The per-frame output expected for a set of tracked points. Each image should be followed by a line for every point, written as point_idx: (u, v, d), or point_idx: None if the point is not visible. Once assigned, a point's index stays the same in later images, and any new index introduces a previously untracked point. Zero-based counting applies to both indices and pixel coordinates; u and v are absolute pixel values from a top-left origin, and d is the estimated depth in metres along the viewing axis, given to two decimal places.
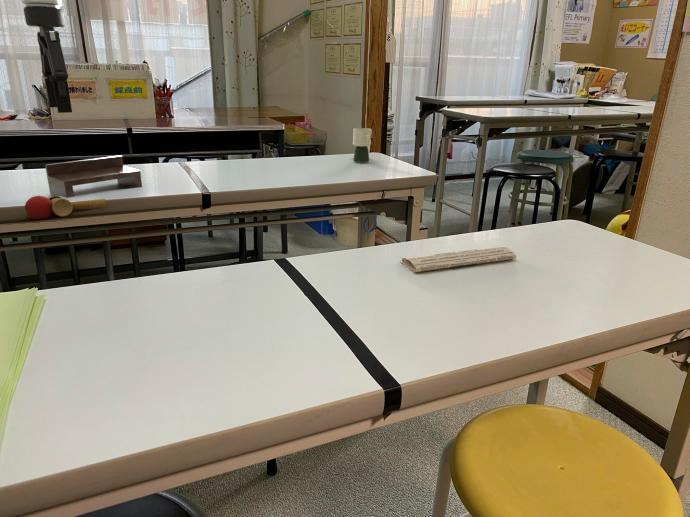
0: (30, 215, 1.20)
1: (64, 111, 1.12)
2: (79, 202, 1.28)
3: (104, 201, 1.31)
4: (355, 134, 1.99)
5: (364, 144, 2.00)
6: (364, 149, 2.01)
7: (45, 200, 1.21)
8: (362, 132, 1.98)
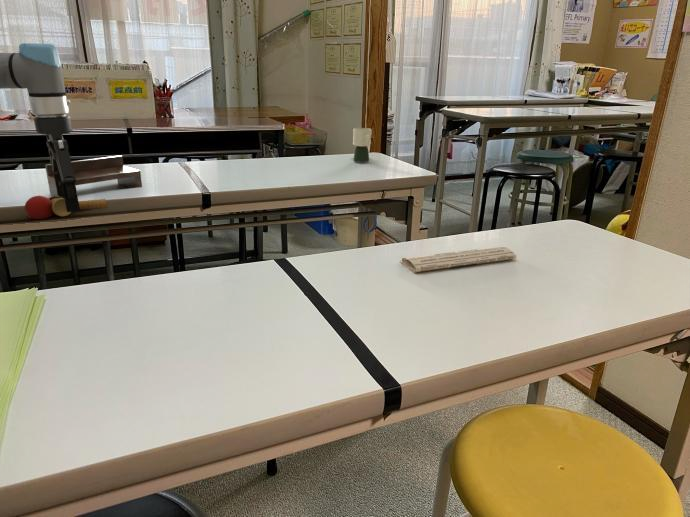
0: (30, 214, 1.20)
1: (73, 210, 1.21)
2: (79, 202, 1.28)
3: (104, 201, 1.31)
4: (355, 134, 1.99)
5: (364, 144, 2.00)
6: (364, 149, 2.01)
7: (45, 200, 1.21)
8: (362, 132, 1.98)
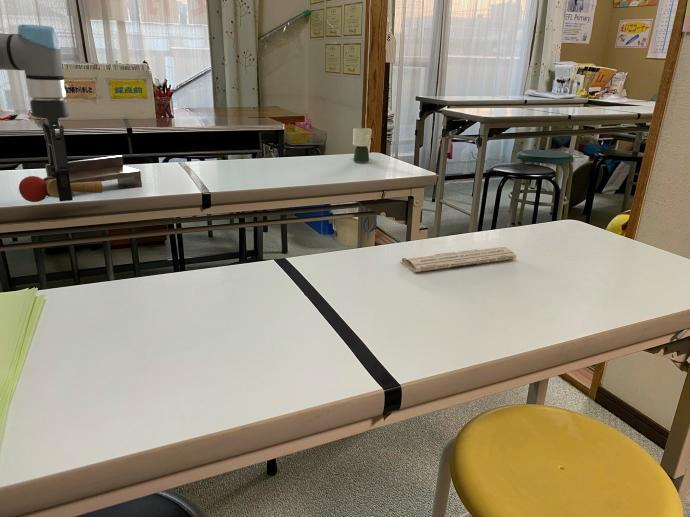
0: (24, 195, 1.18)
1: (65, 200, 1.22)
2: (74, 184, 1.26)
3: (99, 183, 1.30)
4: (355, 134, 1.99)
5: (364, 144, 2.00)
6: (364, 149, 2.01)
7: (39, 181, 1.19)
8: (362, 132, 1.98)
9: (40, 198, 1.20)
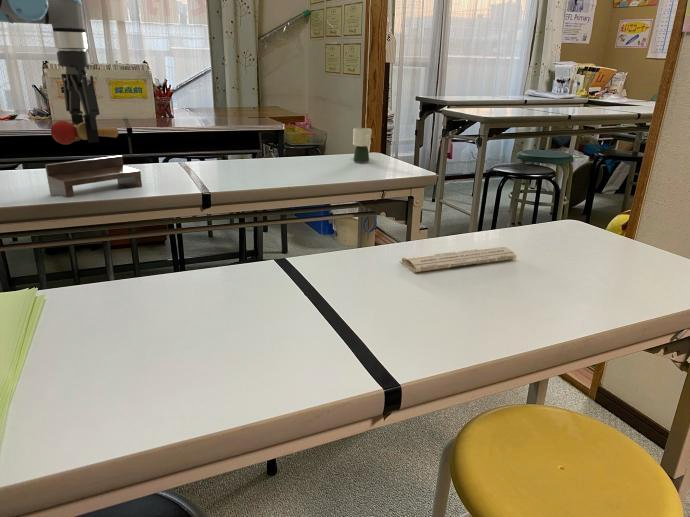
0: (59, 137, 1.33)
1: (93, 141, 1.38)
2: None
3: (115, 128, 1.46)
4: (355, 134, 1.99)
5: (364, 144, 2.00)
6: (364, 149, 2.01)
7: (70, 124, 1.34)
8: (362, 132, 1.98)
9: (72, 140, 1.35)
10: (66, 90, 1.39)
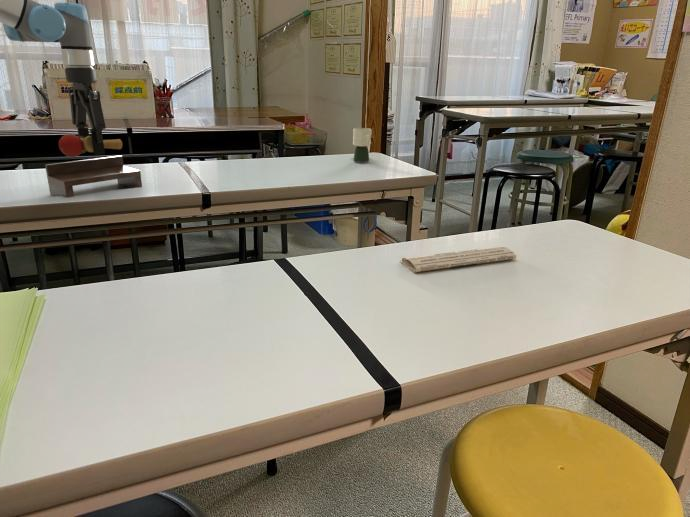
0: (66, 150, 1.38)
1: (99, 153, 1.44)
2: None
3: (120, 141, 1.52)
4: (355, 134, 1.99)
5: (364, 144, 2.00)
6: (364, 149, 2.01)
7: (77, 138, 1.40)
8: (362, 132, 1.98)
9: (79, 153, 1.41)
10: (73, 104, 1.44)
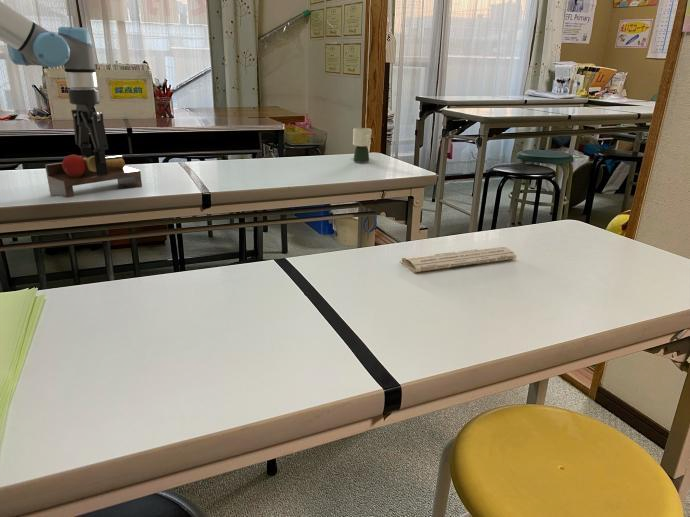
0: (70, 170, 1.40)
1: (102, 173, 1.46)
2: None
3: (122, 160, 1.54)
4: (355, 134, 1.99)
5: (364, 144, 2.00)
6: (364, 149, 2.01)
7: (80, 158, 1.42)
8: (362, 132, 1.98)
9: (82, 173, 1.43)
10: (76, 125, 1.46)
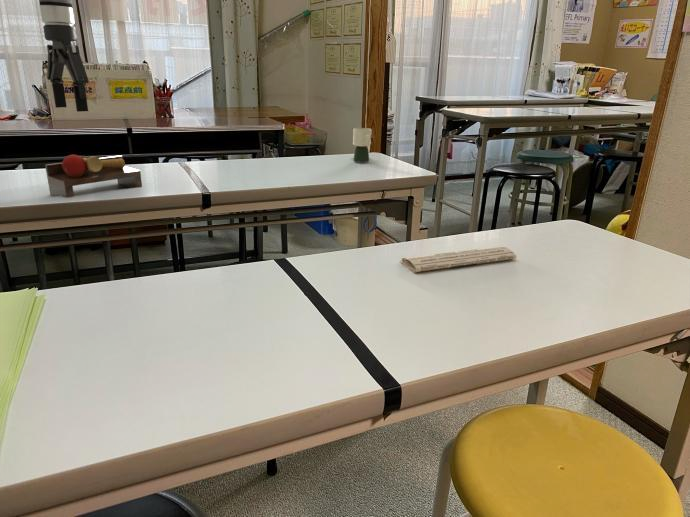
0: (70, 170, 1.40)
1: (82, 110, 1.37)
2: (103, 160, 1.49)
3: (122, 160, 1.54)
4: (355, 134, 1.99)
5: (364, 144, 2.00)
6: (364, 149, 2.01)
7: (80, 158, 1.42)
8: (362, 132, 1.98)
9: (82, 173, 1.43)
10: (50, 61, 1.41)
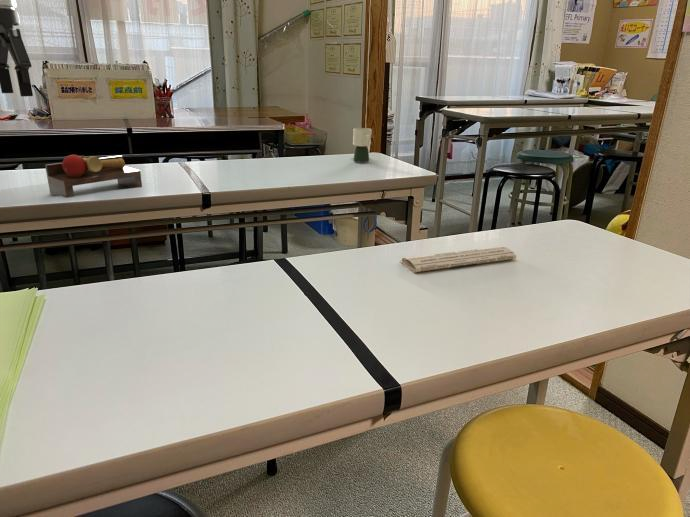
0: (70, 170, 1.40)
1: (26, 95, 1.35)
2: (103, 160, 1.49)
3: (122, 160, 1.54)
4: (355, 134, 1.99)
5: (364, 144, 2.00)
6: (364, 149, 2.01)
7: (80, 158, 1.42)
8: (362, 132, 1.98)
9: (82, 173, 1.43)
10: None
